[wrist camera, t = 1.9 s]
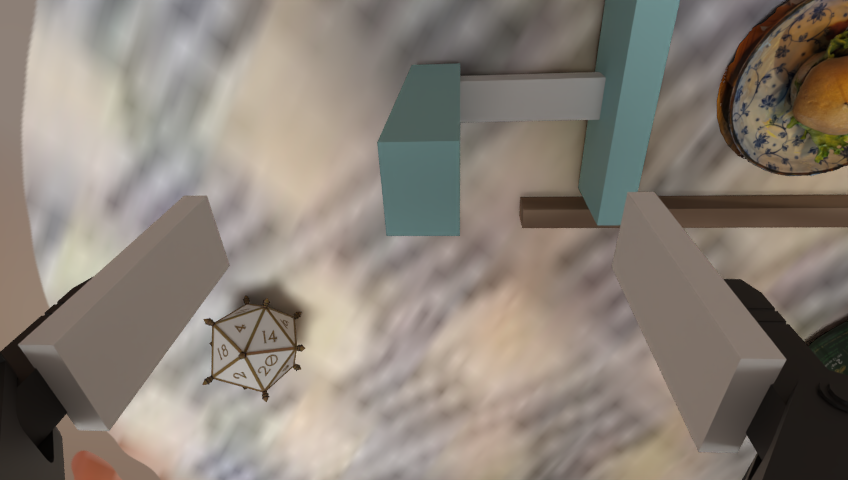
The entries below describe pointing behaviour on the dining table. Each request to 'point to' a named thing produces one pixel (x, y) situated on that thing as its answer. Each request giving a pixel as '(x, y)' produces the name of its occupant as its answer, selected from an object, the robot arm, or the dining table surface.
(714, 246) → the dining table surface
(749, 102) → the burger
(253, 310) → the game die
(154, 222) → the robot arm
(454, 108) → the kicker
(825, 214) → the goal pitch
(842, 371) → the coffee jar
